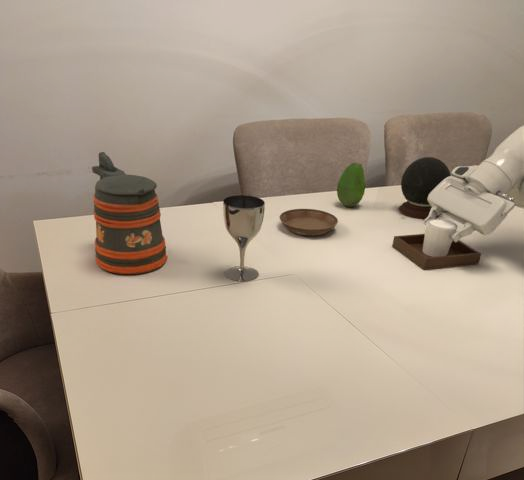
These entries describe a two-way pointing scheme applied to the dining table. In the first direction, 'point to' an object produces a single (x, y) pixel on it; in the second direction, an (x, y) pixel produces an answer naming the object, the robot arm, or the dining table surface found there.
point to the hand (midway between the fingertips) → (438, 231)
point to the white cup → (438, 237)
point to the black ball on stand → (421, 185)
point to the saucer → (308, 221)
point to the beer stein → (126, 221)
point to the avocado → (351, 185)
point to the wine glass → (243, 229)
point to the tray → (455, 257)
